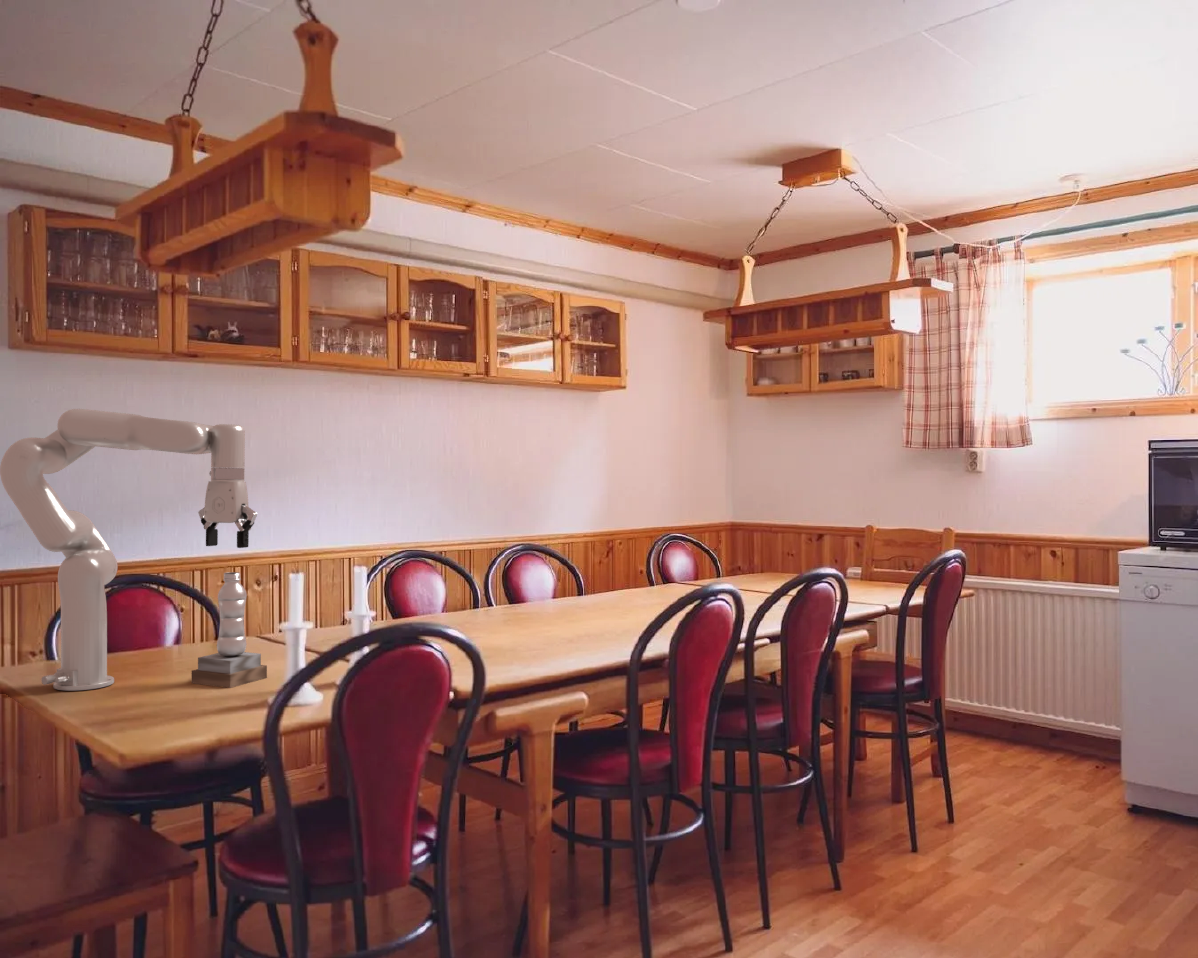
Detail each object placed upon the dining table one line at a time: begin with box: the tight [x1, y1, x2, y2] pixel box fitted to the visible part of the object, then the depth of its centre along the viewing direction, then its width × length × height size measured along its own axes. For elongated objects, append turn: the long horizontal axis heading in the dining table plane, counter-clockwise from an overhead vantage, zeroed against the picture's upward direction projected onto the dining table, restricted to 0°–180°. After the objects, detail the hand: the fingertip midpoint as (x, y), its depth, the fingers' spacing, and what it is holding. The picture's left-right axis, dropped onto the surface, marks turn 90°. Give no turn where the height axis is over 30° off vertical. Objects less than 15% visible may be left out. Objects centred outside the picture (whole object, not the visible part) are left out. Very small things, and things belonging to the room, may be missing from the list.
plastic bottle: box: [216, 571, 248, 657], centre depth 231 cm, size 6×7×20 cm
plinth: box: [191, 651, 268, 689], centre depth 232 cm, size 12×12×6 cm
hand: (227, 546), depth 231 cm, fingers open, 9 cm apart
